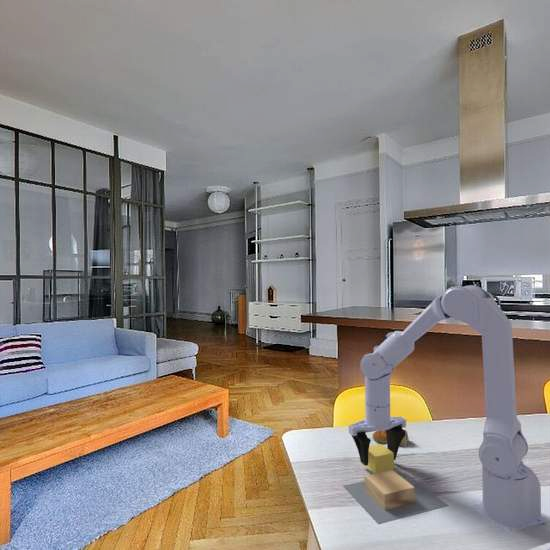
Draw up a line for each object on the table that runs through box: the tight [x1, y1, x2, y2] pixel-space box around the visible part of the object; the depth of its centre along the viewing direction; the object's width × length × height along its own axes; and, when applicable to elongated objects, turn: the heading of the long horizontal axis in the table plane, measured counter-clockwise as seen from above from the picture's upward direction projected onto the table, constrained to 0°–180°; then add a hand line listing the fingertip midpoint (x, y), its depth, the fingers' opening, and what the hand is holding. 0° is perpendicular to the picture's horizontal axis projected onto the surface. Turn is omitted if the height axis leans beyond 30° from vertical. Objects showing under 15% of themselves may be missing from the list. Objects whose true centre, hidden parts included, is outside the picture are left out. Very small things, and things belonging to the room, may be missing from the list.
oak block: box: [364, 470, 415, 510], centre depth 76 cm, size 7×7×3 cm
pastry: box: [372, 429, 410, 448], centre depth 102 cm, size 9×7×4 cm
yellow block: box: [366, 443, 395, 474], centre depth 88 cm, size 5×5×4 cm
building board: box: [342, 472, 449, 525], centre depth 76 cm, size 16×13×1 cm
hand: (378, 460), depth 88 cm, fingers open, 7 cm apart
